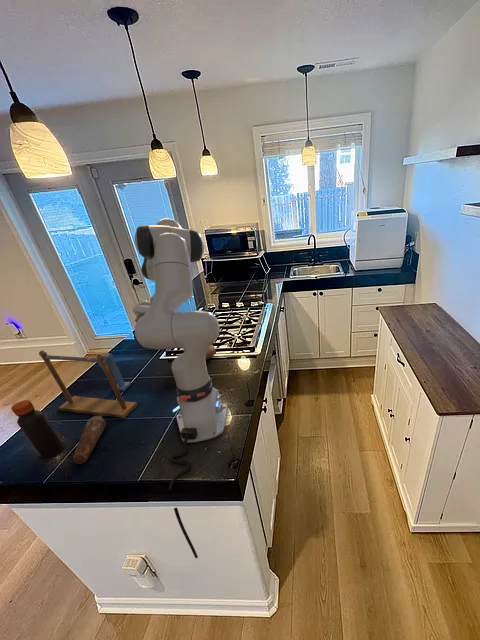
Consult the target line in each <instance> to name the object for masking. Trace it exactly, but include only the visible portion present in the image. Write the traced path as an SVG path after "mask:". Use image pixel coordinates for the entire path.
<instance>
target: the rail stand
mask: <svg viewBox="0 0 480 640" xmlns="http://www.w3.org/2000/svg"><path fill="white" fill-rule="evenodd" d="M38 355H39V357H40V358H41V359H42V360H43V362H44V363H45V365H46V367H47V369H48V370H49V372H50V374H51V375H52V377H53V379H54V380H55V382H56V384H57V385H58V387H59V389H60V391H61V392H62V394H63V396H64V398H65V399H66V401H65V402H64V403H63V404H62V405H60V406H59V407H58V409H59V411H62V412H63V411H64V412H70V413H78V414H80V413H81V414H87V415H94V416H102V417H103V416H105V417H113V418H120V419H125V418H126V417H127V416H128V415H129V414H131V412H132V411H133V410H134V409H136V408H137V407H138V403H137V402H135V401H127V400H125V399H124V397H123V396H122V393H121V391H119V389H118V387H117V382H116V380H115V378H114V375H113V373H112V371H111V369H110V367H109V365H108V362H107V360H105V357H104V355H105V354H102V353H99V354H97V355H96V357H85V356H84V357H82V356H81V357H80V356H68V355H53V354H51V355H50V354H48V352H47V351H46V350H40V351H39V352H38ZM51 360H56V361H57V360H58V361H71V362H72V361H73V362H87V363H98V362H99V363H100V364H101V366H102V367H101V368H102V370H103V372H104V374H105V377H106V379H107V380H108V382H109V385H110V387H111V390H112V391H113V393H114V395H115V398H116V399H106V398H99V397H87V396H79V395H73V396H72V395H71V394H70V392H69V390H68V389H67V387H66V385H65V383H64V381H63V380H62V378H61V376H60V375H59V373H58V371H57V369H56V368H55V366H54V364H53V363H52V361H51Z"/></svg>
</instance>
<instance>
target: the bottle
mask: <svg viewBox="0 0 480 640" xmlns="http://www.w3.org/2000/svg"><path fill="white" fill-rule="evenodd" d="M10 410H11V411H12V412H13V414H14V415H15V416H16V417H18V419H17V420H16V423H17V425H18V426H19V428H20V429H21V431H22V432H23V433H24V435H25V437H27V439H28V440H29V442H30V443H31V444H32V446H33V447H34V448H35V450H36V451H37V453H39V455H40V456H41V458H43V459H51V458H55V457H57V456H58V455H60V454H61V453H62V452H63V451H64V449H65V444H64V443H63V441H62V440H61V438H60V437H59V435H58V434H57V432H56V431H55V430H54V428H53V426H52V425H51V424H50V422H49V421H48V419H47V418H46V416H45V415H44V413H43V411H42V410H38V409H35V406H34V405H33V403H32V401H31V400H29V399H23V400H20V401H18V402H16V403H14V404H13V405H12V406H11V408H10Z"/></svg>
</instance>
